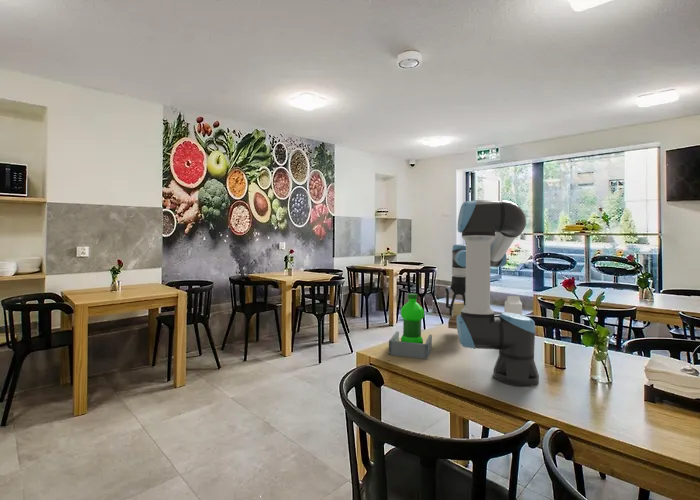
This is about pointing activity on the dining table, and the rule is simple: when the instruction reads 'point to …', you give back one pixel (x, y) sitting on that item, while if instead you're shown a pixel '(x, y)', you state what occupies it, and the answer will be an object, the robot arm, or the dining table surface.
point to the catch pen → (409, 347)
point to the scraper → (455, 314)
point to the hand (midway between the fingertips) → (458, 322)
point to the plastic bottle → (412, 320)
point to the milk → (513, 305)
